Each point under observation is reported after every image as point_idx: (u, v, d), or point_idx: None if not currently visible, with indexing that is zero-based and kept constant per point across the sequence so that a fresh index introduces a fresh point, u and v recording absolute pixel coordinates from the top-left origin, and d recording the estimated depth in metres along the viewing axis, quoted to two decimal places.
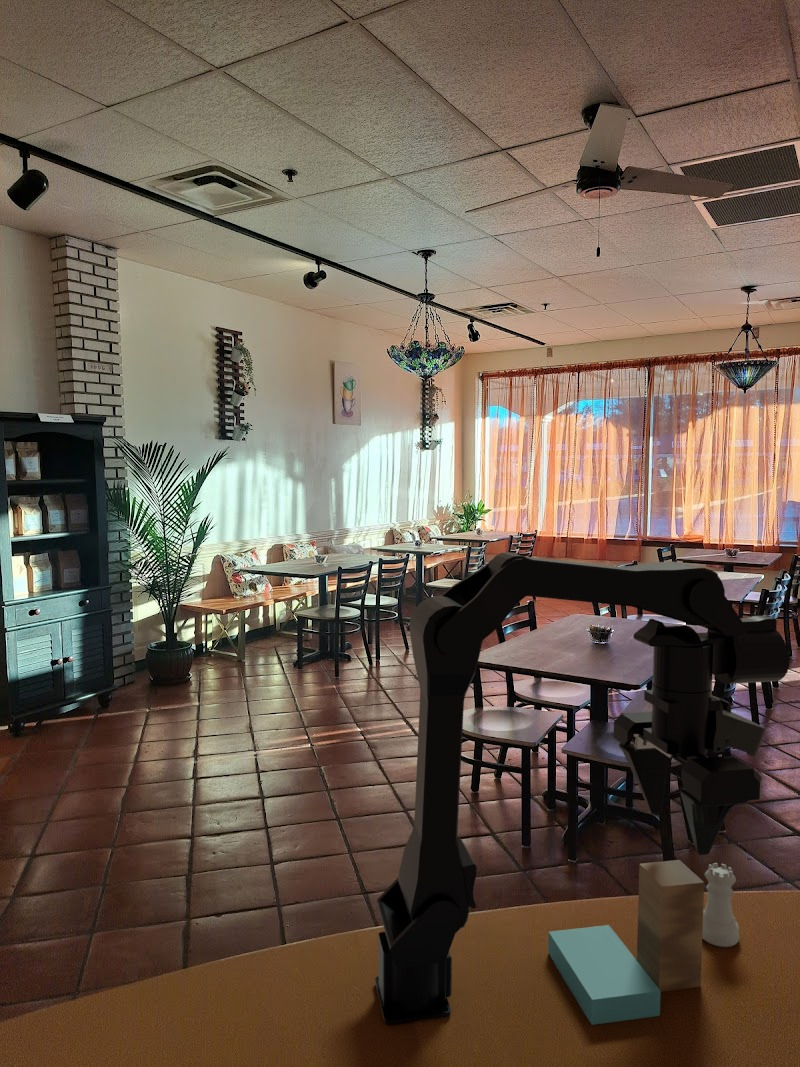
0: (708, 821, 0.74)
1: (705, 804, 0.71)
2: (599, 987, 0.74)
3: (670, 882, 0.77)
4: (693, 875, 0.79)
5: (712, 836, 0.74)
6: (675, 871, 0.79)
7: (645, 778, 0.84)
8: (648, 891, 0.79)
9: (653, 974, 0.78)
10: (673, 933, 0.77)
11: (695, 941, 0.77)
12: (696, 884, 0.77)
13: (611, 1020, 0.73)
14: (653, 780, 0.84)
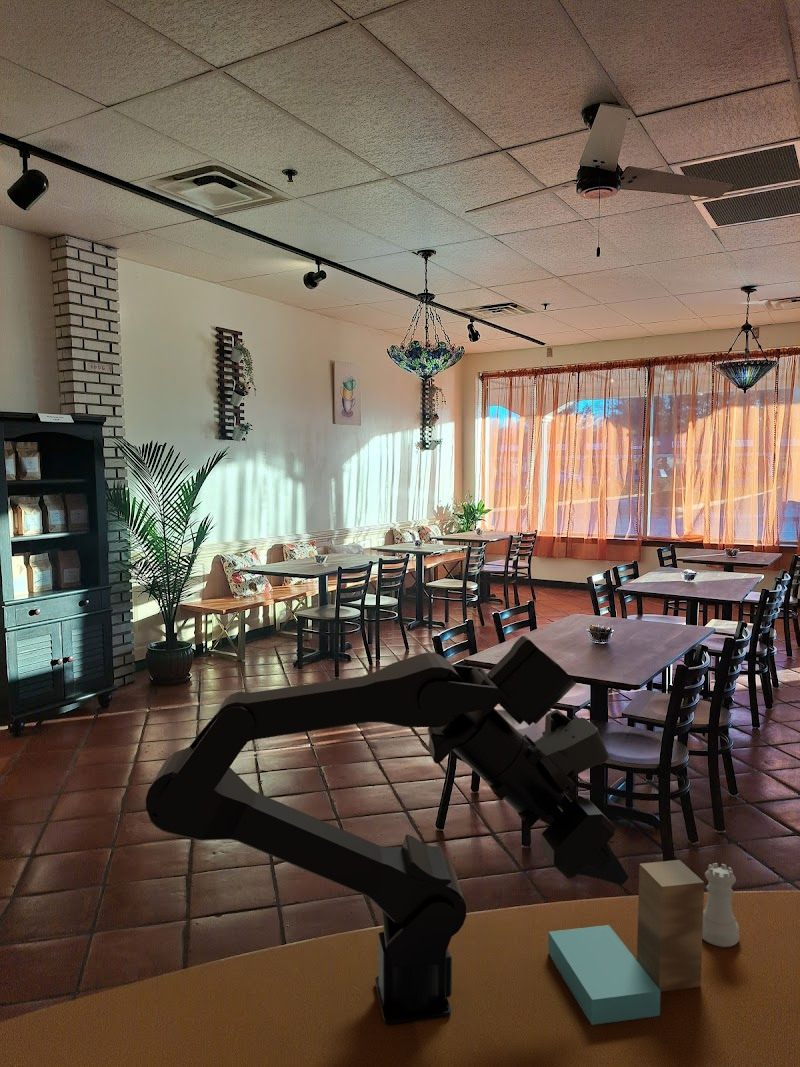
0: (601, 863, 0.71)
1: None
2: (599, 987, 0.74)
3: (670, 881, 0.77)
4: (693, 875, 0.79)
5: (617, 867, 0.72)
6: (675, 871, 0.79)
7: (554, 819, 0.81)
8: (648, 891, 0.79)
9: (653, 974, 0.78)
10: (673, 933, 0.77)
11: (695, 941, 0.77)
12: (696, 884, 0.77)
13: (611, 1020, 0.73)
14: None
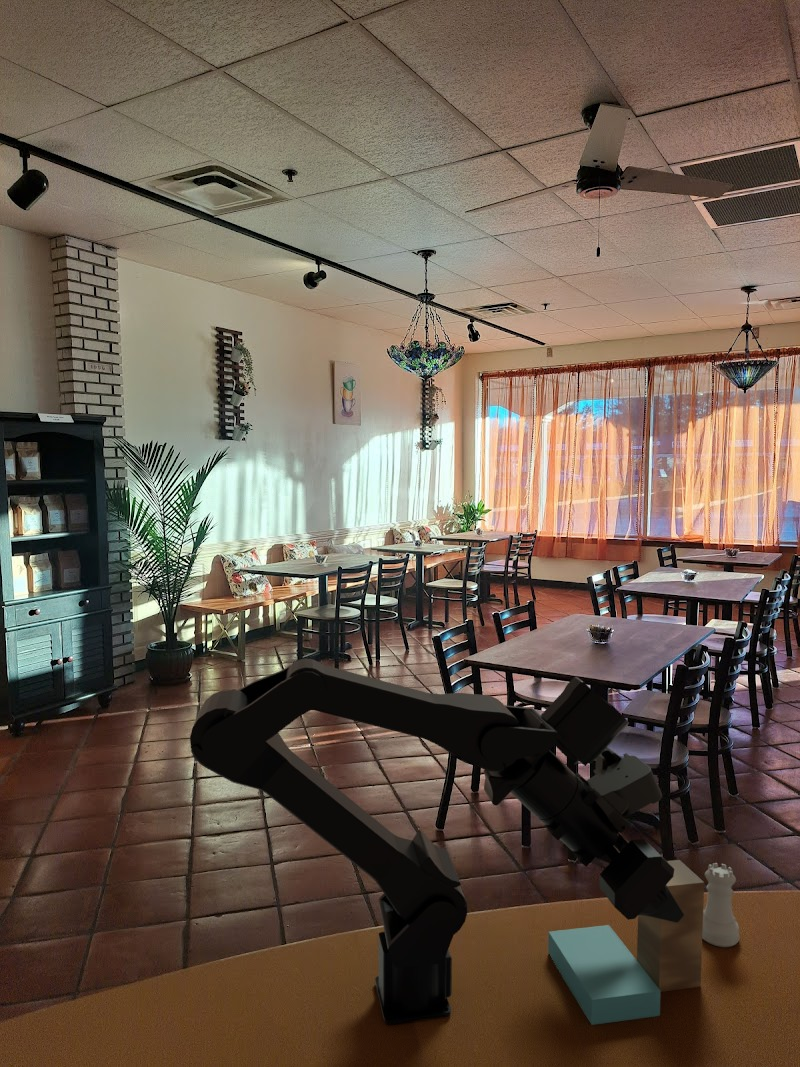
0: (658, 902, 0.72)
1: None
2: (599, 987, 0.74)
3: (670, 882, 0.77)
4: (693, 875, 0.79)
5: (673, 906, 0.73)
6: (675, 871, 0.79)
7: (604, 854, 0.83)
8: None
9: (653, 974, 0.78)
10: (673, 933, 0.77)
11: (695, 941, 0.77)
12: (696, 884, 0.77)
13: (611, 1020, 0.73)
14: None
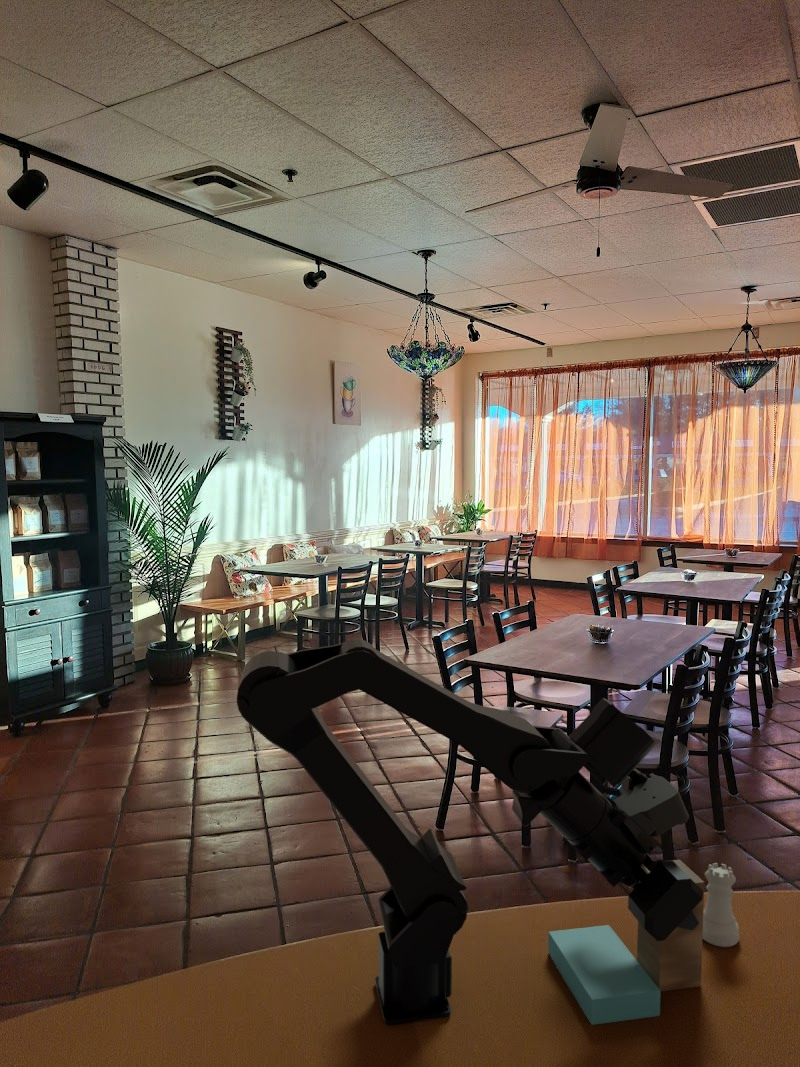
0: None
1: None
2: (599, 987, 0.74)
3: None
4: (693, 875, 0.79)
5: (688, 914, 0.76)
6: None
7: (637, 883, 0.81)
8: None
9: (653, 974, 0.78)
10: (673, 933, 0.77)
11: (695, 941, 0.77)
12: None
13: (611, 1020, 0.73)
14: None
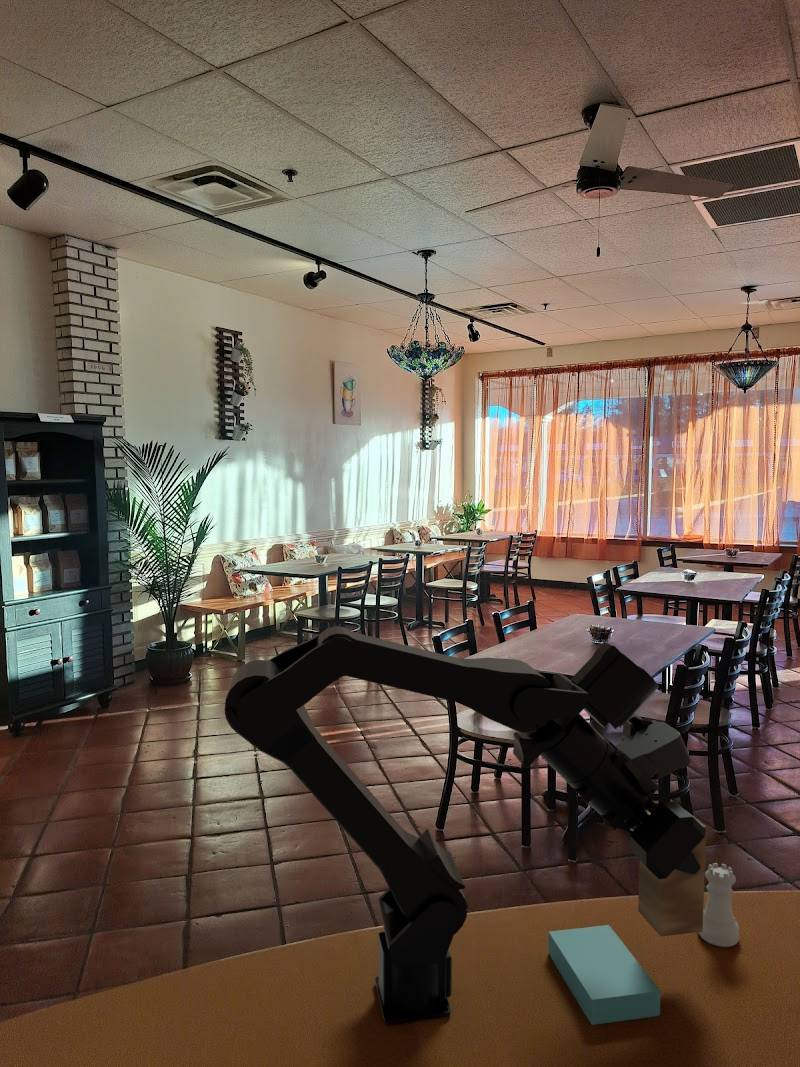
0: None
1: None
2: (599, 987, 0.74)
3: None
4: None
5: (690, 858, 0.75)
6: None
7: None
8: None
9: (655, 919, 0.78)
10: (675, 877, 0.76)
11: (697, 886, 0.77)
12: None
13: (611, 1020, 0.73)
14: None
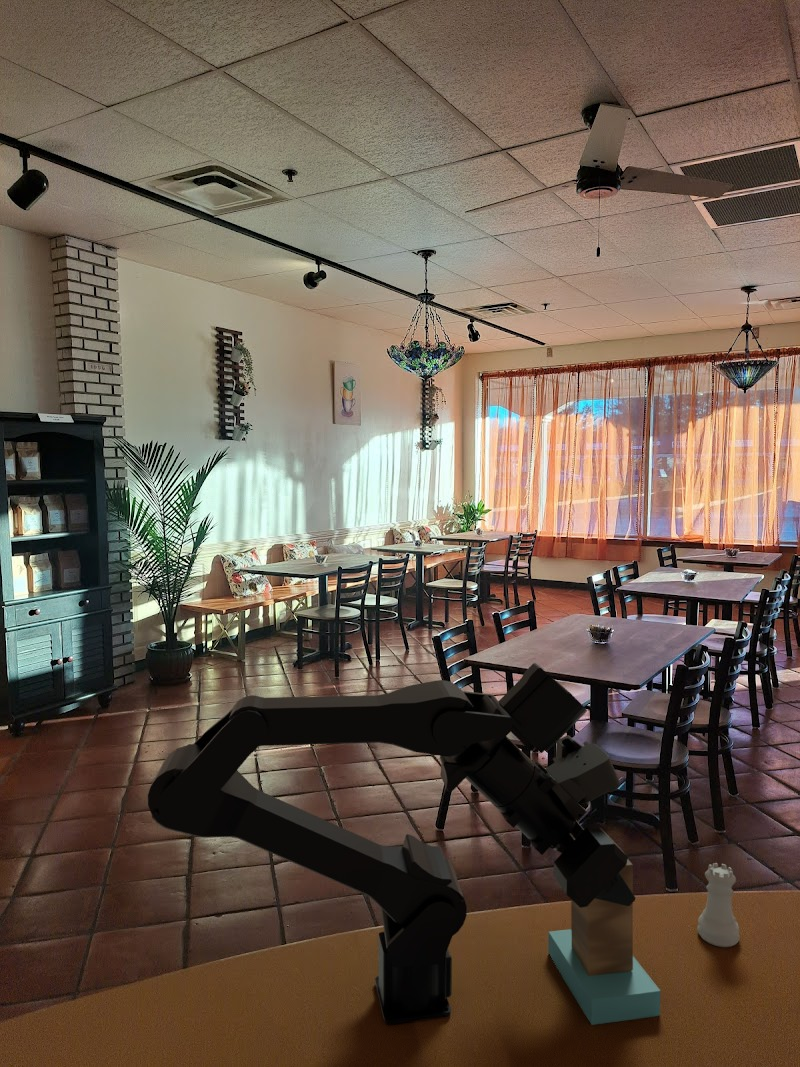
0: (608, 885, 0.73)
1: None
2: (599, 987, 0.74)
3: None
4: None
5: (624, 889, 0.73)
6: None
7: None
8: None
9: (584, 958, 0.77)
10: (601, 916, 0.75)
11: (625, 924, 0.76)
12: (624, 867, 0.75)
13: (611, 1020, 0.73)
14: None
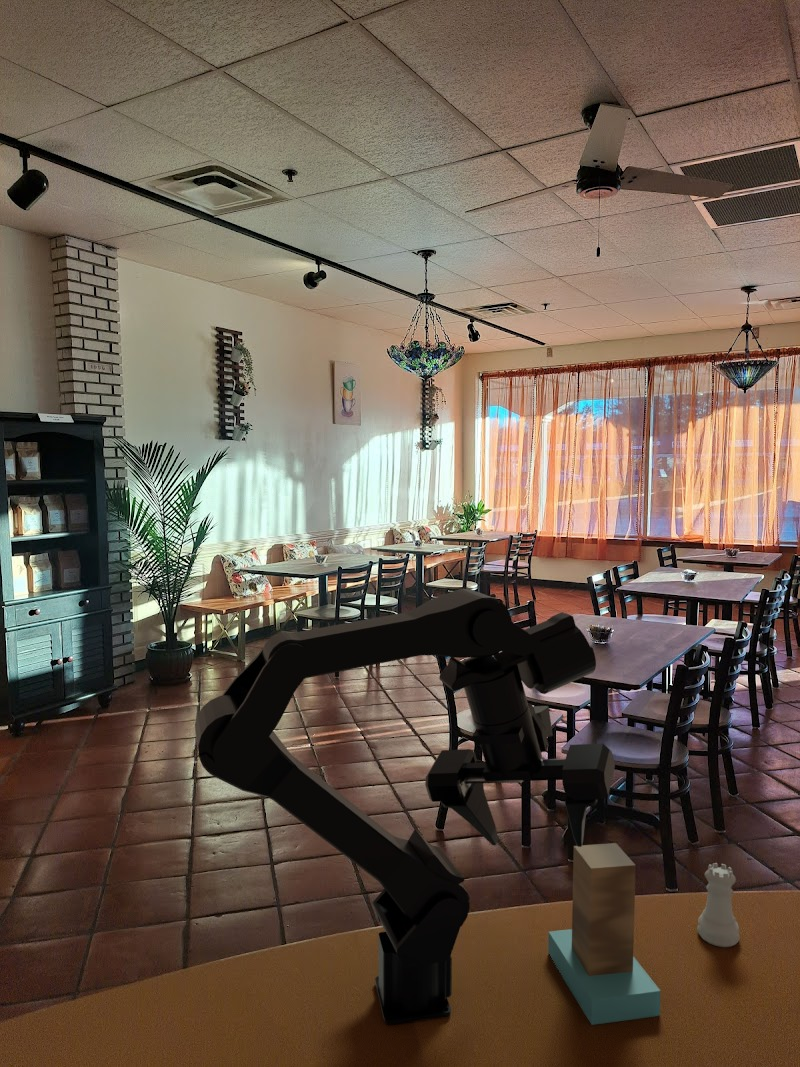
0: None
1: (597, 799, 0.73)
2: (599, 987, 0.74)
3: (601, 864, 0.76)
4: (625, 858, 0.77)
5: (584, 823, 0.78)
6: (608, 854, 0.78)
7: (481, 817, 0.80)
8: (580, 873, 0.78)
9: (584, 958, 0.77)
10: (603, 916, 0.75)
11: (626, 925, 0.76)
12: (627, 867, 0.75)
13: (611, 1020, 0.73)
14: (484, 815, 0.81)
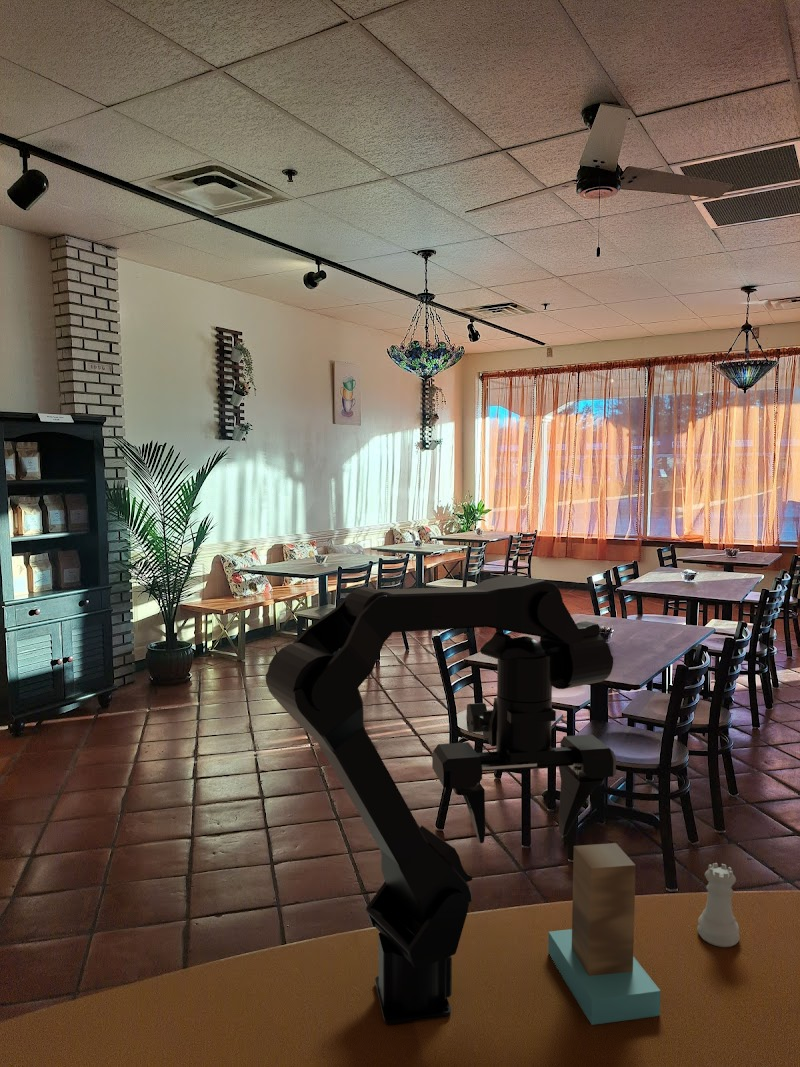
0: None
1: None
2: (599, 987, 0.74)
3: (601, 864, 0.76)
4: (625, 858, 0.77)
5: None
6: (608, 854, 0.78)
7: None
8: (580, 873, 0.78)
9: (584, 958, 0.77)
10: (603, 916, 0.75)
11: (626, 925, 0.76)
12: (627, 867, 0.75)
13: (611, 1020, 0.73)
14: None
